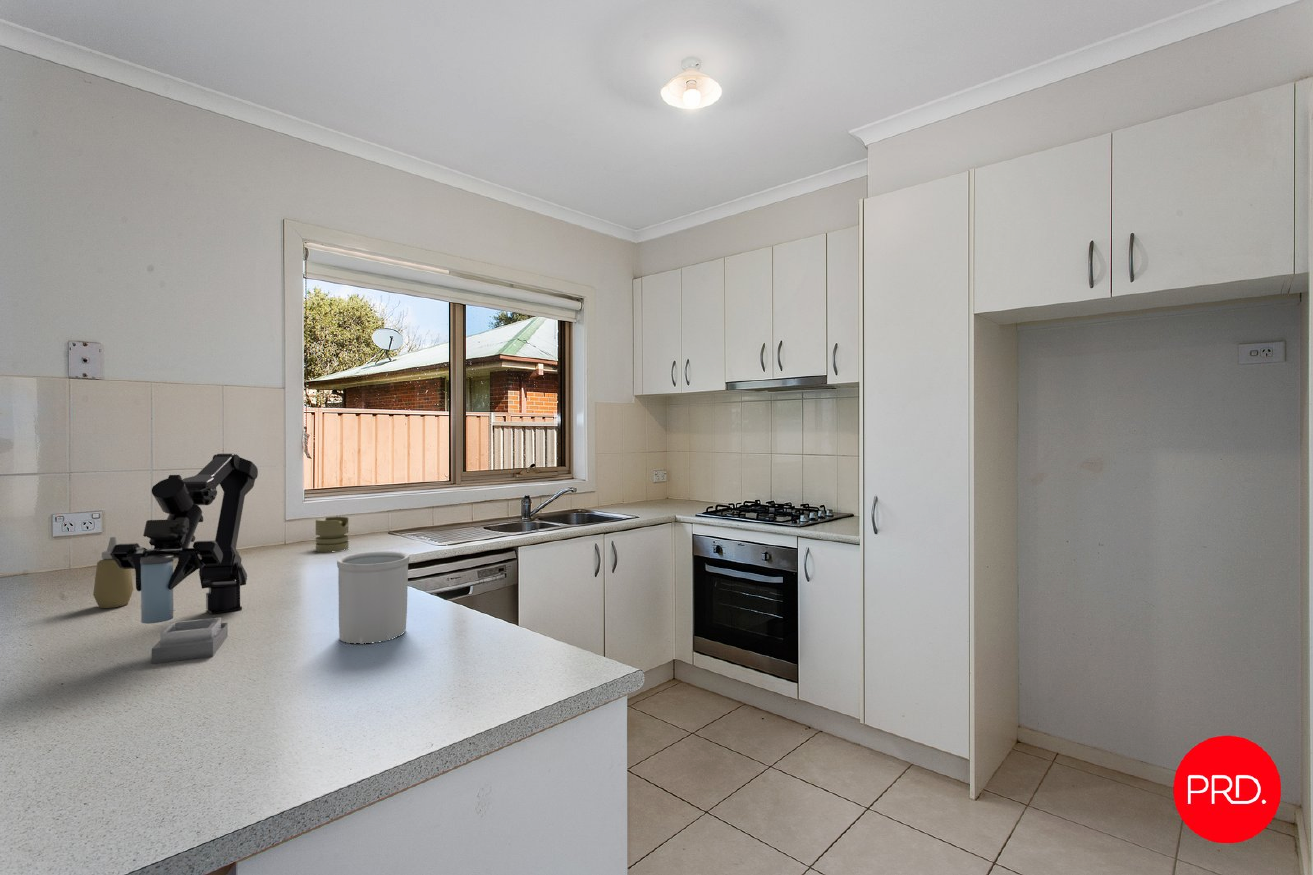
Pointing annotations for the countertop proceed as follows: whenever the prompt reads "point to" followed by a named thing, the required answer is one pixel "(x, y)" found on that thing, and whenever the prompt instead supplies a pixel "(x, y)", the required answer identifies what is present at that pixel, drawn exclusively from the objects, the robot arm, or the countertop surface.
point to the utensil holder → (372, 596)
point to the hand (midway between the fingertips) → (153, 589)
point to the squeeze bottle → (112, 581)
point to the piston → (332, 534)
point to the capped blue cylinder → (156, 588)
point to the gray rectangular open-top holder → (190, 640)
